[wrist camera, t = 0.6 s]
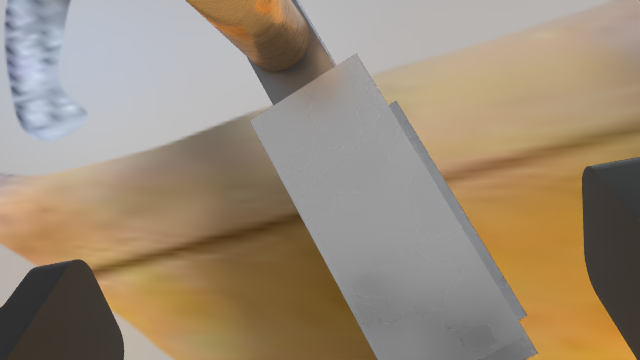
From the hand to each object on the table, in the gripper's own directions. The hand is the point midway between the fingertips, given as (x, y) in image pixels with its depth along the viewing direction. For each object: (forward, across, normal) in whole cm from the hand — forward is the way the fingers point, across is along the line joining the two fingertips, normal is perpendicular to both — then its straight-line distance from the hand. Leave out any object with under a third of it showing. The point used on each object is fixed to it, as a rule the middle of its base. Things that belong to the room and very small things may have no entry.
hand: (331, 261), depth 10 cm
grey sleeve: (+19, -1, +12) cm, 23 cm away
